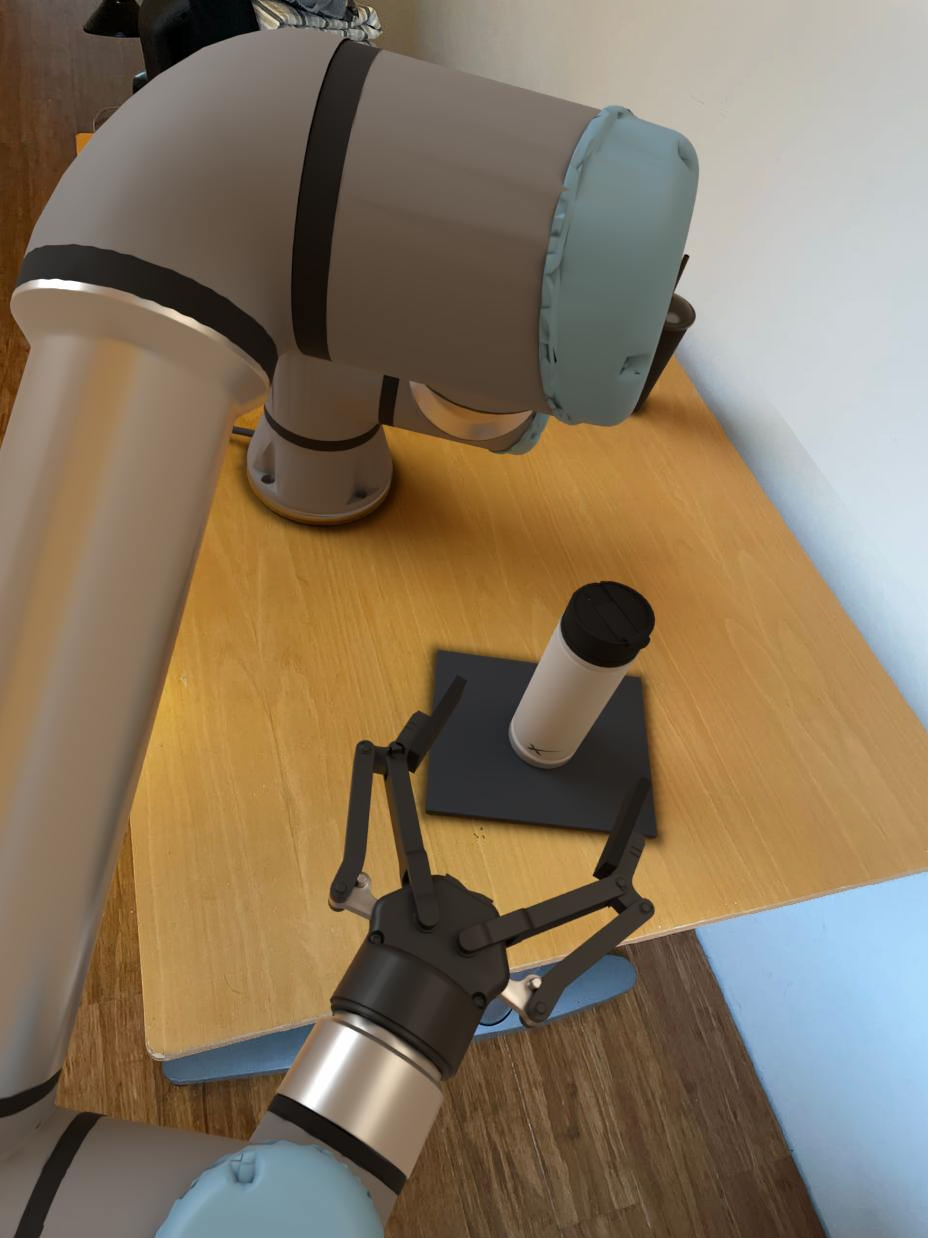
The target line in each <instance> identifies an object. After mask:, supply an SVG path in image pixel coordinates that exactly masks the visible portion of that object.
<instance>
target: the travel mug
mask: <svg viewBox="0 0 928 1238" xmlns="http://www.w3.org/2000/svg"><path fill="white" fill-rule="evenodd" d="M655 625H656V615H655V611H654V609H653V607H652V605H651V604H650V602H649V601H648V599H647V598H645V596H644V595H643V594H641V592H639V591H637V590H636V589H635V588H632V587H631V586H628V585H626V584H625V583H621V582H618V581H614V580H600V581H599V582H597V581H596V582H595V581H594V582H589V583H585V584H584V585H581V586H580V587H579V588H577V589H576V590H575V591H574V592H573V593H572V595H571V597H570V599H569V601H568V604H567V605H566V607H565V609H564V610H563V612H562V614H561V616H560V618H559V619H558V622H557V624H556V626H555V629H554V631H553V632H552V635H551V637H550V639H549V641H548V642H547V645H546V647H545V650H544V652H543V654H542V655H541V658H540V659H539V662H538V666H537V668H536V670H535V672H534V675H533V677H532V679H531V681H530V683H529V685H528V687H527V689H526V691H525V693H524V696H523V698H522V700H521V702H520V704H519V706H518V708H517V710H516V712H515V714H514V716H513V719H512V721H511V723H510V726H509V739H510V743H511V745H512V747H513V749H514V751H515V752H516V754H517V755H518V756H519V757H520V758H521V759H522V760H524V761H525V762H527V763H528V764H530V765H532V766H535V767H538V768H544V769H551V768H557V767H560V766H562V765H564V764H566V763H567V762H568V761H569V760H570V759H571V758H572V756H573V755H574V753H575V752H576V750H577V748H578V747H579V745H580V744H581V742H582V741H583V739H584V738H585V736H586V735H587V733H588V731H589V730H590V728H591V727H592V725H593V724H594V722H595V721H596V719H597V718H598V716H599V715H600V713H601V711H602V710H603V708H604V707H605V705H606V704H607V702H608V701H609V699H610V698H611V696H612V694H613V693H614V691H615V690H616V688H617V687H618V685H619V684H620V682H621V681H622V679H623V677H624V676H625V675H627V673H628V672H629V669H631V667H632V665H633V663H634V662H635V660H636V659H637V657H638V656H639V655H640V652H641V651H642V650H643V649H646V648H647V647H648V646H649V645H650V643H651V637H650V636H651V634H652V632H653V631H654V629H655Z"/></svg>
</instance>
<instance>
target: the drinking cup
mask: <svg viewBox="0 0 928 1238" xmlns="http://www.w3.org/2000/svg"><path fill="white" fill-rule="evenodd" d="M689 259H690V255H689V254H687V253H683V257H682V261H681V264H680V268H679V272H678V276H677V280H676V283H675V287H674V290H673V294H672V298H671V301H670V305H669V308H668V312H667V315H666V318H665V322H664V325H663V328H662V332H661V335H660V339H659V342H658V345H657V348H656V351H655V355H654V358H653V361H652V364H651V367H650V370H649V373H648V376H647V379H646V381H645V384H644V387H643V390H642V392H641V395H640V397H639V400H638V402H637V404H636V406H635V408H634V410H633V412H632V413H635V412H638V411H640V410H642V407H643V406H644V404H645V402H646V400H647V399H648V397H649V396H650V394H651V392H652V391H653V389H654V387H655V386H656V384H657V383H658V380H659V378H660V376H661V375H662V373H663V372H664V370H665V368H666V367H667V365H668V364H669V362H670V360H671V358H672V356H673V355H674V353H675V352H676V350H677V349H678V346H679V345H680V343H681V341H682V340H683V338H684V337H685V335H686V333H687V331H688V329H690V328H691V327H692V326H693V325H694V324H695V321H696V318H697V313H696V310H695V307H693V305H692V304H691V303H690V302H689V301H688V300H687V299H686V298H685V297H683V296H681V295H680V294H678V293H675V292H676V290H677V287H678V285H679V282H680V281H681V278H682V275H683V273H684V271H685V269H686V267H687V265H688V261H689Z"/></svg>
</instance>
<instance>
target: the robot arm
mask: <svg viewBox="0 0 928 1238" xmlns="http://www.w3.org/2000/svg"><path fill="white" fill-rule="evenodd" d="M699 181H700V163H699V157H698V155H697V151H696V149H695V147H694V145H693V143H692V142H691V141H690V140H689V138H687V137H686V136H685V135H684V134H683V133H681V132H679V131H677V130H676V129H672V128H669V127H666V126H664V125H660V124H657V123H654V122H651V121H648V120H645V119H643V118H640V117H638V116H637V115H635V114H634V112H632V111H631V109H630V108H627V107H625V106H622V105H617V104H613V105H607V106H605V107H603V108H602V109H599V108H597V107H593V106H589V105H585V104H581V103H579V102H575V101H571V100H567V99H563V98H559V97H557V96H553V95H549V94H545V93H542V92H538V91H535V90H531V89H528V88H524V87H520V86H516V85H513V84H509V83H506V82H502V81H498V80H495V79H492V78H488V77H483V76H480V75H476V74H473V73H470V72H466V71H462V70H459V69H454V68H452V67H447V66H444V65H441V64H437V63H433V62H430V61H426V60H422V59H419V58H414V57H412V56H408V55H404V54H400V53H397V52H394V51H389V50H387V49H384V48H380V47H376V46H373V45H368V44H365V43H361V42H357V41H354V40H352V39H351V38H350V37H348V36H343V35H340V34H338V33H337V34H336V33H333V32H329V31H325V30H320V29H310V28H302V27H301V28H299V27H293V26H292V27H291V26H289V27H280V28H271V29H262V30H257V31H252V32H249V33H243V34H239V35H235V36H233V37H230V38H227V39H224V40H221V41H218V42H215V43H212V44H210V45H207V46H204V47H202V48H200V49H199V50H197V51H196V52H194V53H192V54H190V55H189V56H188V57H186V58H183V59H182V60H180V61H179V62H177V63H176V64H173V66H171V67H169V68H168V69H166V70H164V71H163V72H161V73H159V74H158V75H156V76H155V77H154V78H153V79H151V80H150V81H149V82H148V83H146V84H145V85H144V86H143V87H141V88H140V89H139V90H138V91H136V92H135V93H134V94H133V95H132V96H130V97H129V98H128V99H127V100H126V101H125V102H124V103H123V104H122V105H121V106H120V107H119V108H118V109H117V110H116V111H115V112H114V113H112V115H111V116H110V117H108V119H107V120H106V121H105V122H104V123H103V124H102V125H100V126H99V128H98V129H97V130H96V131H94V133H93V135H92V136H91V137H90V138H89V140H88V141H87V143H86V144H84V146H83V148H82V149H81V150H80V152H79V153H78V154H77V156H76V157H75V158H74V160H73V161H72V162H71V164H70V165H69V166H68V167H67V169H66V170H65V172H64V173H63V174H62V175H61V177H60V180H59V182H57V185H56V187H55V188H54V190H53V192H52V194H51V196H50V198H49V199H48V201H47V203H46V205H45V207H44V208H43V210H42V212H41V214H40V215H39V217H38V219H37V221H36V223H35V225H34V228H33V229H32V233H31V235H30V238H29V241H28V243H27V247H26V251H25V253H24V256H23V259H22V261H21V266H20V268H19V272H18V275H17V278H16V281H15V283H14V288H13V291H12V295H11V299H10V303H9V309H10V313H11V315H12V317H13V319H14V320H15V322H16V324H17V325H18V327H19V329H20V331H21V332H22V333H23V335H24V337H25V339H26V341H27V342H28V344H29V346H30V349H29V354H28V356H27V359H26V360H27V361H26V363H25V366H24V369H23V373H22V376H21V380H20V383H19V386H18V389H17V393H16V397H15V400H14V403H13V406H12V409H11V414H10V416H9V420H8V423H7V426H6V430H5V434H4V437H3V440H2V444H1V446H0V1238H385V1231H384V1230H385V1227H386V1225H387V1223H388V1220H389V1218H390V1216H391V1214H392V1211H393V1209H394V1206H395V1204H396V1202H397V1199H398V1197H399V1196H400V1195H401V1193H402V1192H403V1189H404V1187H405V1185H406V1183H407V1180H409V1178H410V1177H411V1174H412V1172H413V1170H414V1168H415V1165H416V1163H417V1161H418V1160H419V1159H418V1158H419V1157H420V1154H421V1152H422V1149H423V1148H424V1145H425V1144H426V1141H427V1138H428V1136H429V1134H430V1132H431V1130H432V1128H433V1125H434V1123H435V1121H436V1119H437V1117H438V1114H439V1112H440V1110H441V1108H442V1106H443V1103H444V1101H445V1098H446V1097H445V1094H444V1090H443V1089H442V1086H441V1085H440V1084H439V1083H440V1082H447V1081H449V1080H450V1079H453V1078H455V1077H456V1075H457V1073H458V1070H459V1069H460V1066H461V1064H462V1062H463V1060H464V1058H465V1056H466V1053H467V1052H468V1049H469V1047H470V1044H471V1042H472V1041H473V1038H474V1036H475V1034H476V1032H477V1030H478V1027H479V1025H480V1024H481V1020H482V1019H483V1016H484V1014H485V1012H486V1011H487V1008H488V1007H489V1005H490V1003H491V1002H492V1001H493V1000H495V999H498V1000H499V1001H500V1002H503V1003H504V1004H505V1005H506V1006H507V1007H509V1008H510V1009H511V1010H513V1011H514V1012H515V1013H517V1014H518V1020H519V1022H520V1024H521V1025H522V1026H523V1027H524V1028H526V1029H534V1028H536V1027H538V1026H539V1025H540V1024H542V1023H543V1022H545V1021H546V1020H548V1019H549V1017H550V1016H551V1014H552V1012H553V1011H554V1009H555V1007H556V1006H557V1004H558V1002H559V1000H560V998H561V996H562V995H563V993H564V991H565V989H566V988H567V987H568V986H570V985H571V984H572V983H573V982H575V980H577V979H578V978H579V977H581V976H582V975H583V974H584V973H585V972H587V971H588V970H589V969H590V968H592V967H593V966H595V964H596V963H598V962H599V961H600V960H601V959H603V958H604V957H605V956H607V955H608V954H609V953H610V952H611V951H613V950H614V949H615V948H616V947H617V946H619V945H620V944H621V943H622V942H624V941H625V940H626V939H628V937H630V936H631V935H632V934H633V933H634V932H636V931H637V930H638V929H639V928H641V927H642V926H643V925H645V924H646V923H647V922H648V921H649V920H650V919H652V918H653V917H654V915H655V912H656V908H655V905H654V903H653V902H652V901H651V900H650V899H649V898H646V897H642V895H640V893H638V892H637V890H636V889H635V887H634V883H633V879H634V875H635V872H636V869H637V867H638V865H639V862H640V861H641V860H640V859H641V857H642V854H643V852H644V849H645V846H646V837H645V836H644V835H642V834H640V833H639V832H637V831H635V830H633V828H634V825H635V823H636V820H637V818H638V815H639V813H640V810H641V808H642V805H643V803H644V800H645V798H646V795H647V793H648V790H649V788H650V785H651V783H652V784H653V780H652V781H650V780H648V779H646V778H645V777H643V776H641V777H640V778H639V779H638V781H637V782H636V783H635V784H634V785H633V786H632V788H631V789H630V790H629V791H628V792H627V794H626V797H625V799H624V802H623V804H622V806H621V809H620V811H619V813H618V816H617V818H616V821H615V823H614V825H613V828H612V830H611V832H610V833H609V835H608V837H607V839H606V842H605V844H604V847H603V849H602V852H601V854H600V856H599V859H598V861H597V863H596V866H595V868H594V869H593V870H594V871H593V873H592V877H593V878H596V879H597V880H596V881H593V882H590V883H588V884H586V885H583V886H580V887H577V888H574V889H572V890H570V891H567V892H564V893H561V894H559V895H556V896H554V897H551V898H549V899H546V900H543V901H541V902H537V903H535V904H533V905H531V906H528V907H521V908H518V909H515V910H513V911H510V912H507V913H505V914H503V915H501V914H500V913H499V910H498V909H497V907H496V906H495V904H493V903H494V899H492V898H490V897H488V896H487V895H485V894H483V893H481V892H477V891H474V890H470V889H468V888H467V887H466V886H465V885H464V884H463V883H462V882H461V881H460V880H459V879H457V878H456V877H455V876H453V875H451V874H449V873H445V875H443V874H432V871H431V866H430V861H429V855H428V853H427V851H426V849H425V844H424V840H423V836H422V831H421V826H420V821H419V820H420V819H419V816H418V810H417V806H416V801H415V795H414V791H413V785H412V780H411V776H410V773H411V774H413V775H415V773H416V771H417V770H418V768H419V767H420V765H421V763H422V762H423V760H424V759H425V757H426V756H427V754H428V752H430V747H431V746H432V744H433V743H434V741H435V739H436V738H437V736H438V735H439V733H440V731H441V730H442V728H443V727H444V725H445V723H446V722H447V720H448V719H449V717H450V715H451V714H452V712H453V711H454V709H455V707H456V706H457V704H458V703H459V701H460V699H461V696H462V693H463V690H464V687H465V685H466V682H467V680H466V679H464V678H462V677H460V676H458V675H457V676H456V678H455V679H454V681H453V682H452V684H451V685H450V687H449V689H448V690H447V692H446V693H445V695H444V696H443V698H442V699H441V701H440V703H439V704H438V706H437V707H436V709H435V710H434V712H433V711H432V712H433V713H431V715H428V714H426V713H425V712H423V711H421V710H420V709H419V710H417V711H415V712H414V713H412V714H411V716H410V717H409V719H408V720H407V722H406V723H405V725H404V727H403V728H402V730H400V732H399V734H398V736H397V737H396V739H395V740H393V741H390V743H388V745H387V746H379V745H376V744H374V742H372V741H371V740H368V739H362V740H360V741H358V742H357V743H356V745H355V750H354V756H353V761H352V769H351V779H350V790H349V797H348V798H349V799H348V806H347V807H348V808H347V816H346V827H345V837H344V845H343V856H342V861H341V863H340V865H339V867H338V869H337V872H336V873H335V876H334V878H333V880H332V881H331V884H330V888H329V893H328V897H327V904H328V905H327V906H328V907H329V909H330V910H331V911H332V912H336V913H342V912H343V911H348V912H350V913H352V914H354V915H357V916H359V917H361V918H363V919H366V920H367V921H369V922H368V925H369V926H368V932H367V933H366V935H365V938H364V940H362V943H361V944H360V946H359V948H358V950H357V952H356V953H355V955H354V957H353V958H352V961H351V962H350V963H349V965H348V967H347V969H346V970H345V973H344V974H343V976H342V977H341V979H340V981H339V983H338V984H337V986H336V987H335V990H334V991H333V993H332V994H331V997H330V998H329V1003H330V1011H331V1013H332V1014H331V1016H332V1017H330V1016H328V1017H327V1016H325V1017H322V1018H319V1019H317V1020H316V1022H315V1024H314V1026H313V1027H312V1029H311V1031H310V1032H309V1034H308V1035H307V1038H306V1040H305V1041H304V1043H303V1044H302V1046H301V1047H300V1050H299V1051H298V1053H297V1055H296V1057H295V1058H294V1060H293V1062H292V1064H291V1065H290V1067H289V1068H288V1070H287V1072H286V1074H285V1076H284V1077H283V1079H282V1081H281V1083H280V1084H279V1086H278V1087H277V1089H276V1091H275V1093H274V1096H273V1098H272V1100H271V1101H270V1102H269V1105H268V1107H267V1109H266V1112H265V1113H264V1115H263V1117H262V1119H261V1120H260V1122H259V1123H258V1124H257V1127H256V1129H255V1130H254V1131H253V1133H252V1135H251V1136H250V1138H249V1139H248V1140H243V1139H237V1138H233V1137H226V1136H222V1135H216V1134H211V1133H204V1132H198V1131H193V1130H189V1129H188V1130H187V1129H182V1128H177V1127H171V1126H165V1125H160V1124H152V1123H147V1122H141V1121H136V1120H131V1119H124V1118H118V1117H113V1116H108V1115H106V1114H104V1113H97V1112H93V1111H86V1110H84V1111H80V1110H75V1109H73V1108H68V1107H65V1106H60V1105H56V1104H55V1103H56V1097H57V1091H58V1087H59V1082H60V1078H61V1072H62V1071H63V1068H64V1064H65V1060H66V1057H67V1053H68V1049H69V1046H70V1042H71V1038H72V1035H73V1030H74V1027H75V1023H76V1020H77V1016H78V1013H79V1009H80V1008H79V1007H80V1005H81V1000H82V998H83V997H82V996H83V993H84V989H85V986H86V982H87V978H88V975H89V971H90V967H91V963H92V959H93V955H94V953H95V948H96V944H97V940H98V937H99V936H98V935H99V933H100V928H101V925H102V922H103V918H104V914H105V911H106V907H107V903H108V899H109V895H110V892H111V887H112V885H113V880H114V876H115V873H116V870H117V866H118V862H119V859H120V858H119V857H120V854H121V850H122V847H123V842H124V839H125V835H126V832H127V827H128V825H129V820H130V817H131V813H132V808H133V805H134V801H135V798H136V794H137V790H138V786H139V783H140V779H141V775H142V771H143V767H144V764H145V760H146V756H147V753H148V748H149V745H150V742H151V737H152V733H153V730H154V726H155V722H156V718H157V715H158V710H159V707H160V704H161V700H162V697H163V693H164V688H165V684H166V681H167V677H168V674H169V670H170V666H171V663H172V658H173V654H174V651H175V647H176V644H177V640H178V637H179V632H180V628H181V625H182V622H183V621H182V620H183V617H184V614H185V609H186V606H187V603H188V599H189V594H190V591H191V587H192V583H193V579H194V575H195V571H196V569H197V565H198V561H199V557H200V553H201V549H202V546H203V542H204V538H205V534H206V530H207V526H208V523H209V520H210V516H211V511H212V508H213V504H214V501H215V496H216V492H217V490H218V486H219V481H220V477H221V475H222V471H223V466H224V463H225V460H226V459H225V458H226V455H227V452H228V448H229V444H230V442H231V441H230V440H231V436H232V434H234V435H239V436H243V437H247V438H251V439H250V442H249V445H248V448H247V451H246V475H247V480H248V484H249V486H250V488H251V490H252V492H253V494H254V495H255V496H256V497H257V498H258V500H259V501H260V502H261V503H262V504H263V505H264V506H265V507H267V508H268V509H269V510H271V511H272V512H274V513H276V514H278V515H280V516H281V517H284V518H286V519H289V520H291V521H294V522H297V523H301V524H306V525H313V526H338V525H343V524H349V523H353V522H355V521H358V520H360V519H362V518H365V517H366V516H368V515H370V514H371V513H373V512H374V511H375V510H376V509H378V508H379V507H380V506H381V505H382V504H383V503H384V501H385V500H386V498H387V497H388V494H389V491H390V489H391V484H392V478H393V471H394V470H393V467H394V466H393V459H392V455H391V451H390V447H389V443H388V439H387V437H386V432H385V430H384V426H387V427H392V428H397V429H401V430H405V431H409V432H414V433H417V434H421V435H426V436H431V437H433V438H439V439H442V440H446V441H450V442H455V443H459V444H463V445H467V446H471V447H476V448H480V449H484V450H487V451H488V452H490V453H493V454H496V455H513V456H522V455H525V454H527V453H529V452H531V451H532V450H533V449H534V448H535V447H536V445H537V444H538V443H539V441H540V438H541V436H542V433H543V432H544V431H545V429H546V427H547V425H548V423H549V420H550V417H551V416H552V417H554V418H555V419H556V420H557V421H559V422H561V423H563V424H566V425H568V426H578V425H580V424H586V425H592V426H598V427H606V428H607V427H609V428H610V427H615V426H618V425H620V424H623V422H625V421H626V420H627V419H628V418H629V417H630V416H631V414H632V413H634V412H633V410H634V408H635V406H636V404H637V402H638V400H639V397H640V395H641V392H642V390H643V387H644V384H645V381H646V379H647V376H648V373H649V370H650V367H651V364H652V361H653V358H654V355H655V351H656V348H657V345H658V342H659V339H660V335H661V332H662V328H663V325H664V322H665V318H666V315H667V312H668V308H669V305H670V301H671V298H672V294H673V290H674V287H675V283H676V280H677V276H678V272H679V268H680V264H681V261H682V258H683V256H684V254H685V248H686V244H687V240H688V237H689V232H690V228H691V223H692V219H693V214H694V211H695V206H696V205H695V204H696V200H697V194H698V188H699V187H698V186H699ZM262 406H263V411H262V414H261V416H260V418H259V420H258V423H257V425H256V428H255V429H252V428H245V427H242V426H236V425H235V422H236V421H237V419H238V418H240V417H243V416H245V415H247V414H249V413H250V412H253V411H254V410H256V409H259V408H261V407H262ZM383 425H384V426H383ZM374 774H375V775H381V776H382V780H383V783H384V784H383V785H384V790H385V796H386V800H387V801H386V802H387V807H388V813H389V818H390V822H391V823H390V825H391V828H392V829H391V830H392V835H393V839H394V840H393V841H394V845H395V851H396V856H397V862H398V873H399V880H400V881H399V882H400V888H398V889H396V890H393V891H391V892H388V893H387V894H384V895H382V896H381V897H379V898H376V897H375V896H374V895H373V892H372V888H371V887H372V878H371V876H370V875H369V874H368V873H367V872H365V871H363V869H364V865H365V861H366V857H367V856H366V855H367V848H368V838H369V837H368V835H369V827H370V825H369V824H370V815H371V814H370V812H371V803H372V802H371V801H372V790H373V780H374ZM605 908H608V909H609V908H612V909H613V910H614V911H615V912H616V913H617V914H618V915H617V916H616V917H614V918H613V919H611V921H609V922H608V923H607V924H605V925H604V926H603V927H602V928H600V929H599V930H598V931H596V932H595V933H594V934H593V935H591V936H590V937H589V938H588V939H587V940H585V941H584V942H583V943H581V945H579V946H578V947H576V948H575V949H574V950H573V951H571V952H570V953H569V954H568V955H566V956H564V958H563V959H561V960H560V961H559V962H557V963H556V964H555V965H554V966H553V967H552V968H550V970H548V971H547V972H546V973H545V974H544V975H543V976H540V975H538V974H536V973H530V974H528V975H527V976H525V977H524V978H523V979H521V980H518V981H517V980H513V979H511V971H510V964H509V957H508V951H507V949H508V948H509V949H510V948H511V947H513V946H515V945H518V944H520V943H521V942H523V941H525V940H528V939H531V938H532V937H536V936H537V935H540V934H543V933H546V932H548V931H550V930H553V929H555V928H558V927H561V926H563V925H565V924H568V923H571V922H573V921H575V920H578V919H580V918H583V917H585V916H588V915H590V914H593V913H595V912H597V911H602V910H604V909H605Z"/></svg>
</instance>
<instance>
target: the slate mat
mask: <svg viewBox="0 0 928 1238" xmlns="http://www.w3.org/2000/svg"><path fill="white" fill-rule="evenodd" d="M435 658H436V659H435V672H434V673H435V674H434V685H433V701H432V713H433V712H434V710H435V709H436V707H437V706H438V704H439V703H440V701H441V699H442V698H443V696H444V695H445V693H446V692H447V690H448V689H449V687H450V685H451V684H452V682H453V681H454V679H455V678H456V676H457V675H458V676H460V677H462V678H464V679H466V680H467V682H466V685H465V687H464V690H463V693H462V696H461V699H460V701H459V703H458V704H457V706H456V707H455V709H454V711H453V712H452V714H451V715H450V717H449V719H448V720H447V722H446V723H445V725H444V727H443V728H442V730H441V731H440V733H439V735H438V736H437V738H436V739H435V741H434V743H433V744H432V746H431V747H430V749H429V755H428V767H427V782H426V795H425V808H424V809H425V810H424V812H425V813H426V814H434V815H442V816H443V815H444V816H451V817H459V818H461V817H462V818H469V819H478V820H486V821H487V820H488V821H498V822H506V823H507V822H508V823H515V824H521V825H522V824H523V825H532V826H541V827H549V828H558V829H569V830H576V831H586V832H595V833H603V834H610V832H611V830H612V828H613V825H614V823H615V821H616V818H617V816H618V813H619V811H620V809H621V806H622V804H623V802H624V799H625V797H626V794H627V792H628V791H629V790H630V789H631V788H632V786H633V785H634V784H635V783H636V782H637V781H638V779H639V778H640V777H641V776H643V777H645V778H646V779H648V780H650V781H652V783H651V785H650V788H649V790H648V793H647V795H646V798H645V800H644V803H643V805H642V808H641V810H640V813H639V815H638V818H637V820H636V823H635V825H634V828H633V830H635V831H637V832H639V833H640V834H642V835H644V836H645V838H649V839H656V838H657V837H658V829H657V818H656V809H655V799H654V789H653V780H652V770H651V760H650V752H649V743H648V733H647V724H646V714H645V705H644V694H643V684H642V677H640V676H632V675H627V674H625V676H624V677H623V679H622V681H621V682H620V684H619V685H618V687H617V688H616V690H615V691H614V693H613V694H612V696H611V698H610V699H609V701H608V702H607V704H606V705H605V707H604V708H603V710H602V711H601V713H600V715H599V716H598V718H597V719H596V721H595V722H594V724H593V725H592V727H591V728H590V730H589V731H588V733H587V735H586V736H585V738H584V739H583V741H582V742H581V744H580V745H579V747H578V748H577V750H576V752H575V753H574V755H573V756H572V758H571V759H570V760H569V761H568V762H567V763H566V764H564V765H562V766H560V767H557V768H551V769H544V768H538V767H535V766H532V765H530V764H528V763H527V762H525V761H524V760H522V759H521V758H520V757H519V756H518V755H517V754H516V752H515V751H514V749H513V747H512V745H511V743H510V739H509V726H510V723H511V721H512V719H513V716H514V714H515V712H516V710H517V708H518V706H519V704H520V702H521V700H522V698H523V696H524V693H525V691H526V689H527V687H528V685H529V683H530V681H531V679H532V677H533V675H534V672H535V670H536V668H537V666H538V664H539V662H530V661H523V660H517V659H516V660H515V659H508V658H501V657H494V656H488V655H487V656H486V655H479V654H473V653H465V652H459V651H450V650H444V649H437V651H436V657H435ZM432 713H431V714H432Z"/></svg>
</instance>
